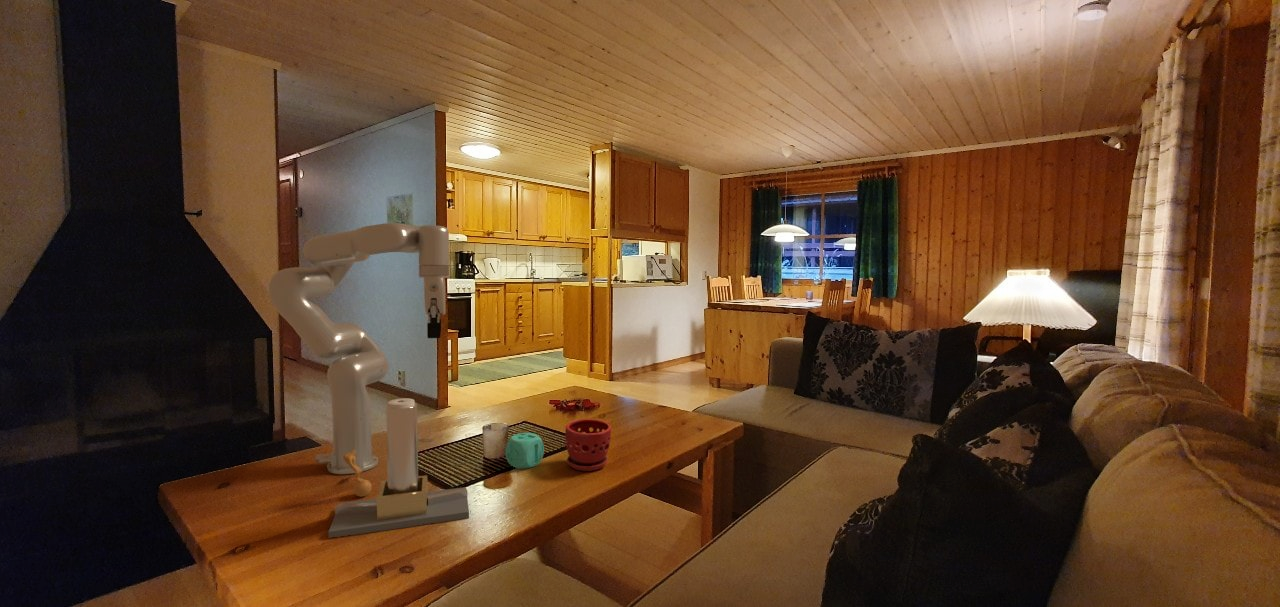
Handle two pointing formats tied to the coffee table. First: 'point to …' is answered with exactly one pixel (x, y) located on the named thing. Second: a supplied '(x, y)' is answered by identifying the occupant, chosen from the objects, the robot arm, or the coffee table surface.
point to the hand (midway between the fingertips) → (434, 335)
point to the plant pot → (587, 444)
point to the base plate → (369, 523)
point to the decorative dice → (524, 450)
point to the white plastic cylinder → (402, 446)
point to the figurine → (357, 476)
